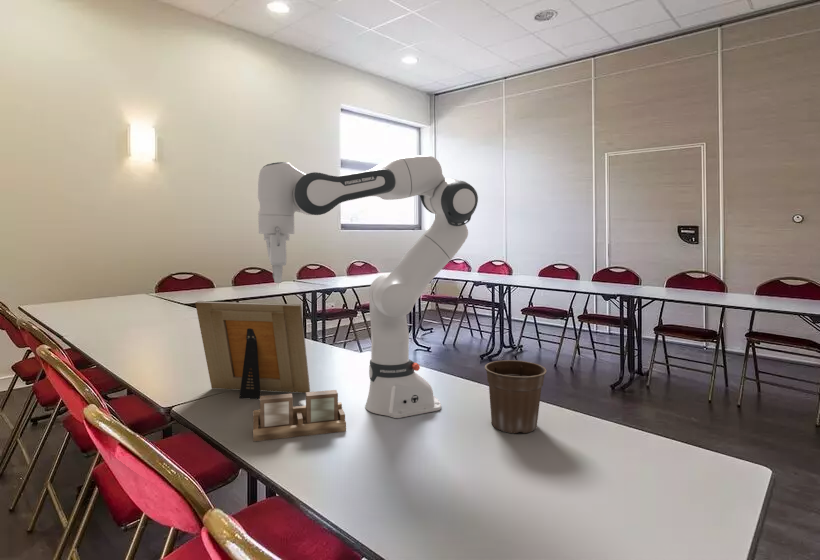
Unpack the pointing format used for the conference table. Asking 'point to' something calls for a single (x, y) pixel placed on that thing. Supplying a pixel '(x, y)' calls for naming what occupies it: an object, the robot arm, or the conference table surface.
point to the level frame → (321, 406)
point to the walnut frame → (276, 410)
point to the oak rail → (298, 426)
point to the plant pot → (514, 394)
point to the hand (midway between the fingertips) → (277, 281)
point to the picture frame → (254, 347)
